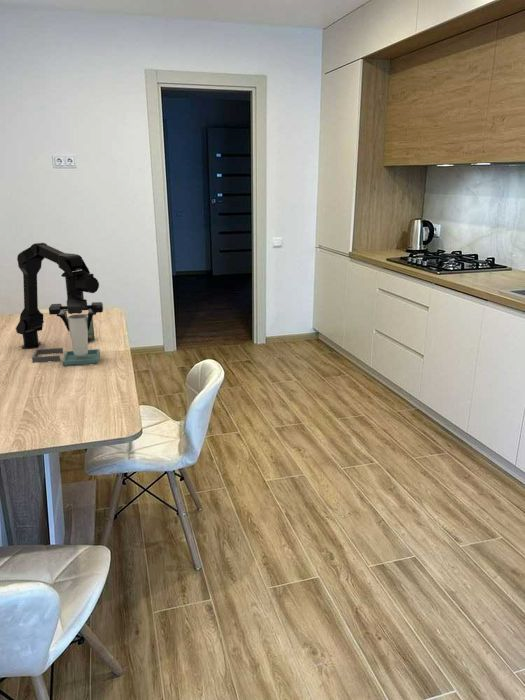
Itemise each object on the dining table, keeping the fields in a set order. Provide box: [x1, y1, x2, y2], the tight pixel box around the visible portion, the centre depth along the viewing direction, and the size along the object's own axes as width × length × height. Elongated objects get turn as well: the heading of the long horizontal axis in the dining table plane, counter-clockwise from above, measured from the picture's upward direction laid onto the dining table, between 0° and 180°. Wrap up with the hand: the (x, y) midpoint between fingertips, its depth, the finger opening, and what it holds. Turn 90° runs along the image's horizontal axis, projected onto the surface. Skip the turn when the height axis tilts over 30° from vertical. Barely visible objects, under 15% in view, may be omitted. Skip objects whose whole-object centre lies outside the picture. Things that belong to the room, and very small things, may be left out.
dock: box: [31, 347, 64, 364], centre depth 201 cm, size 11×10×2 cm
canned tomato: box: [82, 313, 96, 344], centre depth 221 cm, size 8×8×11 cm
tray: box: [61, 348, 101, 367], centre depth 198 cm, size 13×13×2 cm
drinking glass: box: [67, 313, 89, 356], centre depth 196 cm, size 7×7×15 cm
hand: (78, 330), depth 195 cm, fingers closed on drinking glass, 7 cm apart
